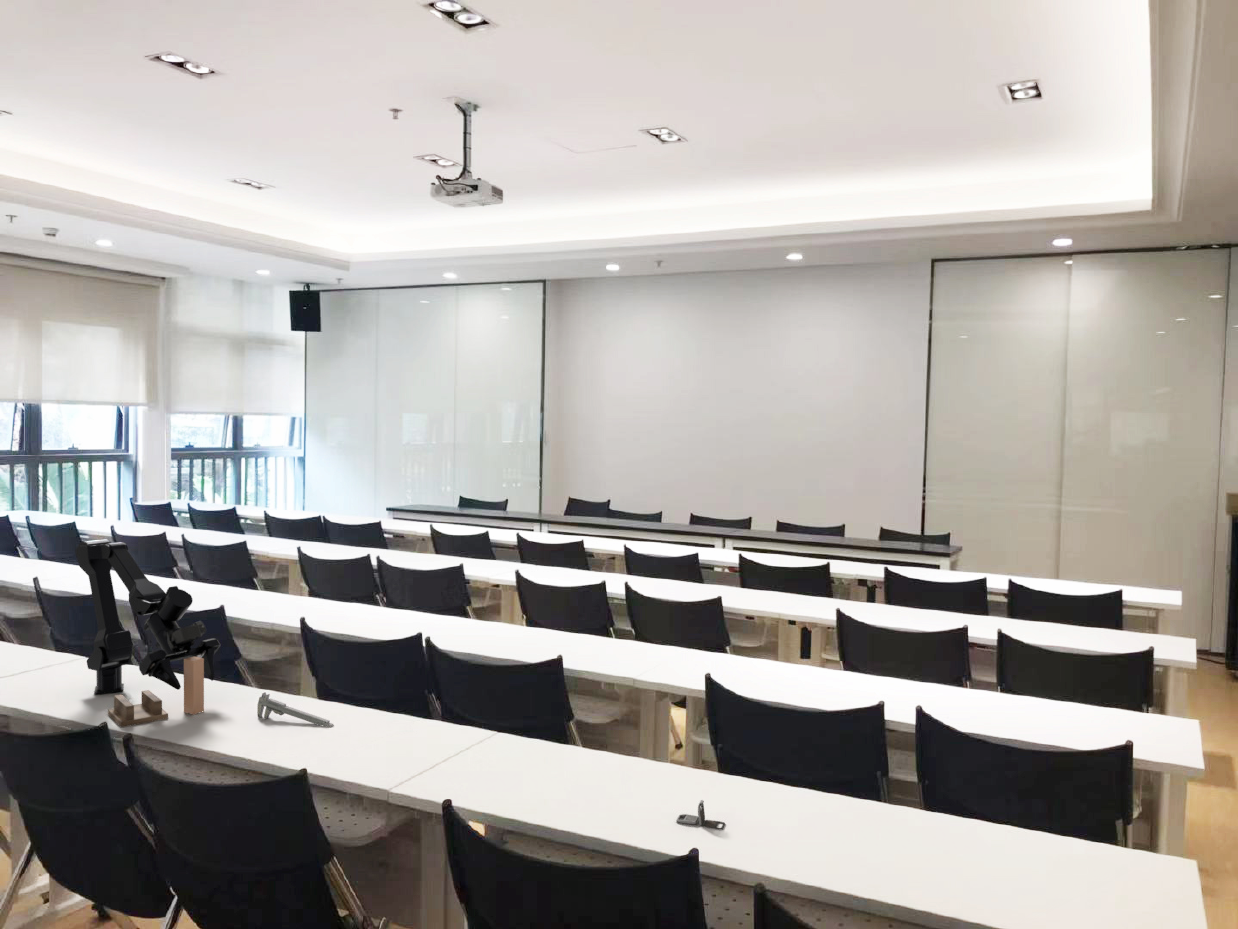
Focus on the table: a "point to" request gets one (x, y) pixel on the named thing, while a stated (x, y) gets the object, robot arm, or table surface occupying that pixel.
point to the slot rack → (137, 710)
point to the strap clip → (699, 819)
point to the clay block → (193, 685)
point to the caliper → (286, 711)
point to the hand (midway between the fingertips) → (196, 684)
